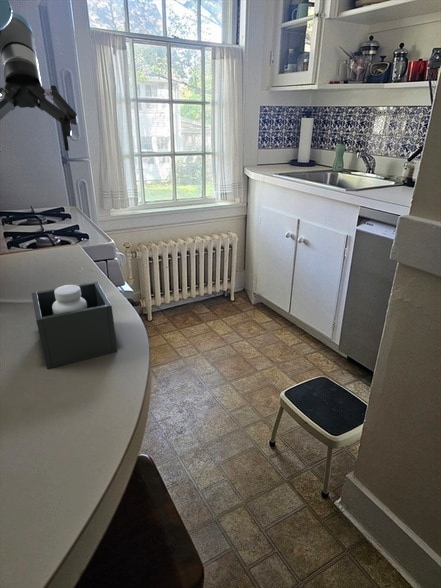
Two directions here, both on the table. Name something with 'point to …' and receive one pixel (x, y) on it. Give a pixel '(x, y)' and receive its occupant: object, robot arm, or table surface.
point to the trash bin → (75, 327)
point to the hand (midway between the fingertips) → (32, 147)
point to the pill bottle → (68, 299)
